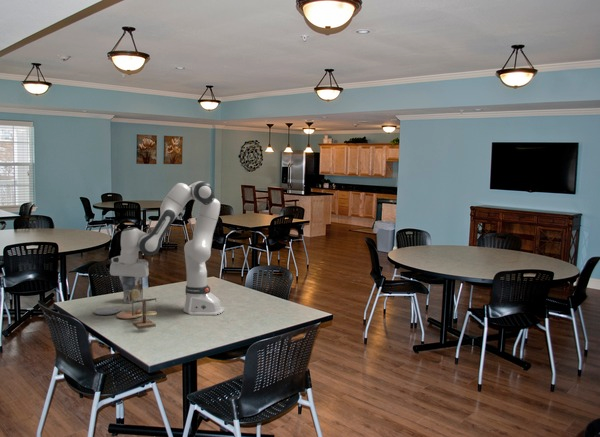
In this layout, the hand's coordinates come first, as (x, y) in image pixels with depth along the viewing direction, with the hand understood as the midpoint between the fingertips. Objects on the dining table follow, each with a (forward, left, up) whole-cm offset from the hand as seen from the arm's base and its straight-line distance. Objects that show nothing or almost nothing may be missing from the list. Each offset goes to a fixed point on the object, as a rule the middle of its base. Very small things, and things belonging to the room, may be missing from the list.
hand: (129, 284), depth 272 cm
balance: (-14, +13, -17) cm, 26 cm away
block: (0, 0, -2) cm, 2 cm away
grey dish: (+15, -4, -17) cm, 23 cm away
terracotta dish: (0, 0, -17) cm, 17 cm away
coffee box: (+12, -29, -17) cm, 36 cm away
